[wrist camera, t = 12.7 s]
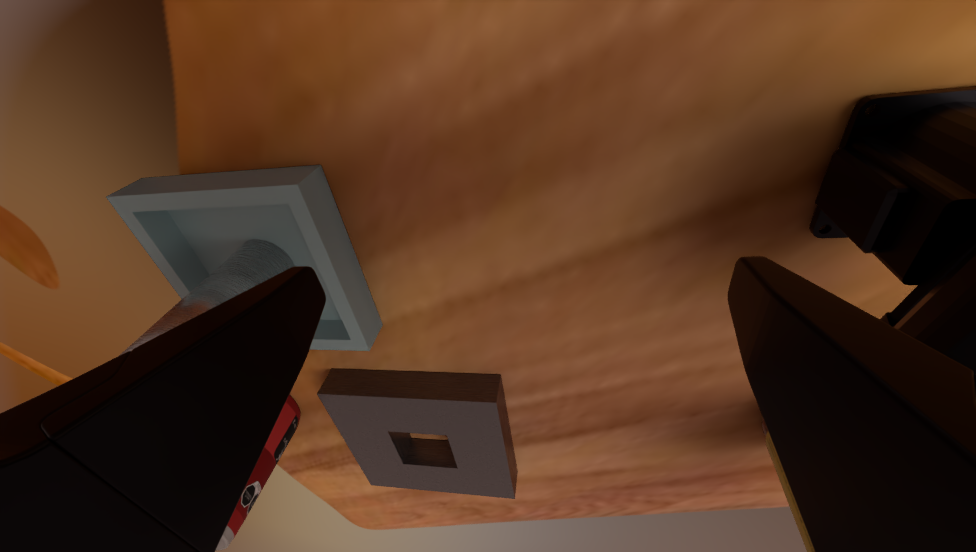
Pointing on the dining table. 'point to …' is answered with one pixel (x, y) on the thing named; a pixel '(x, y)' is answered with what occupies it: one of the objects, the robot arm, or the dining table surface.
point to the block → (425, 429)
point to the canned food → (263, 468)
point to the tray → (254, 236)
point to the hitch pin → (224, 284)
